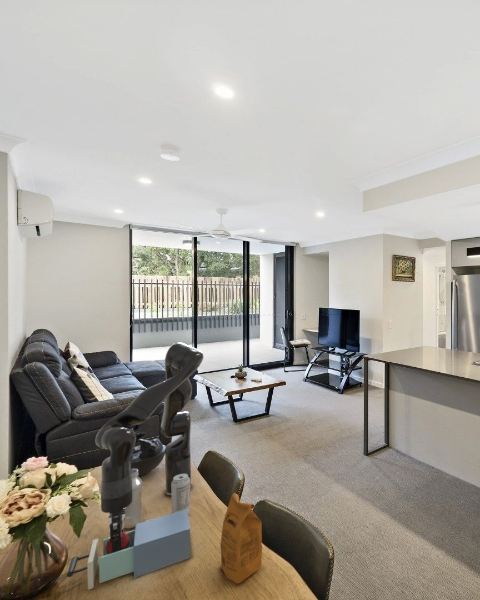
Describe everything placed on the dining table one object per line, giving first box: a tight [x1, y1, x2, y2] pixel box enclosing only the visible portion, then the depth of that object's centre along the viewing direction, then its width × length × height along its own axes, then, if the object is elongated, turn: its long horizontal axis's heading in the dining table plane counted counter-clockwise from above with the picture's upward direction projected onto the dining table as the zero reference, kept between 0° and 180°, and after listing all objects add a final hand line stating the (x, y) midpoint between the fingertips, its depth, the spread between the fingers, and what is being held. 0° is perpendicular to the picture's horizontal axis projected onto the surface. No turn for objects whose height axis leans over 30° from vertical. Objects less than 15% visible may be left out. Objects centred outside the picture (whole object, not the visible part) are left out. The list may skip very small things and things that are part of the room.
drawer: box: [66, 529, 135, 591], centre depth 110 cm, size 18×11×8 cm, turn 124°
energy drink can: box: [171, 474, 191, 515], centre depth 138 cm, size 6×6×15 cm
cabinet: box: [133, 509, 191, 578], centre depth 117 cm, size 15×13×10 cm
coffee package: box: [219, 492, 263, 585], centre depth 111 cm, size 10×12×22 cm
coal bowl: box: [130, 431, 166, 477], centre depth 169 cm, size 20×20×19 cm
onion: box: [106, 531, 130, 554], centre depth 111 cm, size 6×6×8 cm
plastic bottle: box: [123, 469, 145, 529], centre depth 132 cm, size 6×7×20 cm
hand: (117, 544), depth 111 cm, fingers closed on onion, 6 cm apart
